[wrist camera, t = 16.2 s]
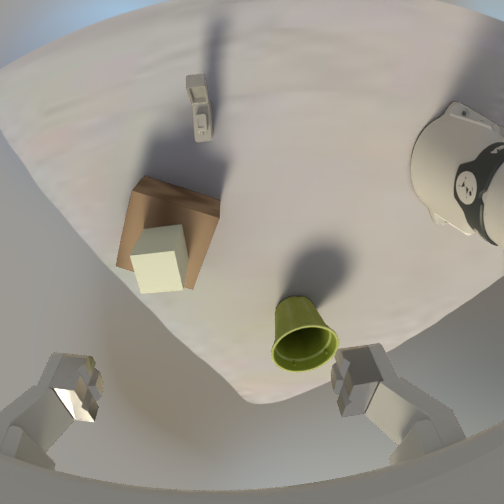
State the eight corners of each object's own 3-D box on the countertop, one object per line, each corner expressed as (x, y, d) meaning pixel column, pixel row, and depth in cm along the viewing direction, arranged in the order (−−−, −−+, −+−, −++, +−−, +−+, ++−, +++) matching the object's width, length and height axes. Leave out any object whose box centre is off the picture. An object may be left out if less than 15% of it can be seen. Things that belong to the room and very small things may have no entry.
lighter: (213, 135, 36) (209, 147, 29) (198, 136, 36) (191, 149, 29) (208, 76, 32) (204, 73, 25) (193, 78, 32) (184, 75, 25)
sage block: (181, 224, 35) (174, 250, 29) (188, 259, 37) (183, 290, 32) (143, 228, 35) (129, 255, 29) (152, 263, 37) (141, 293, 32)
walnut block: (220, 199, 40) (219, 218, 35) (196, 264, 44) (193, 289, 39) (144, 175, 38) (132, 190, 32) (127, 242, 42) (115, 266, 37)
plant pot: (334, 309, 50) (351, 347, 42) (289, 340, 52) (298, 380, 45) (300, 274, 46) (314, 313, 39) (252, 311, 49) (256, 352, 41)
